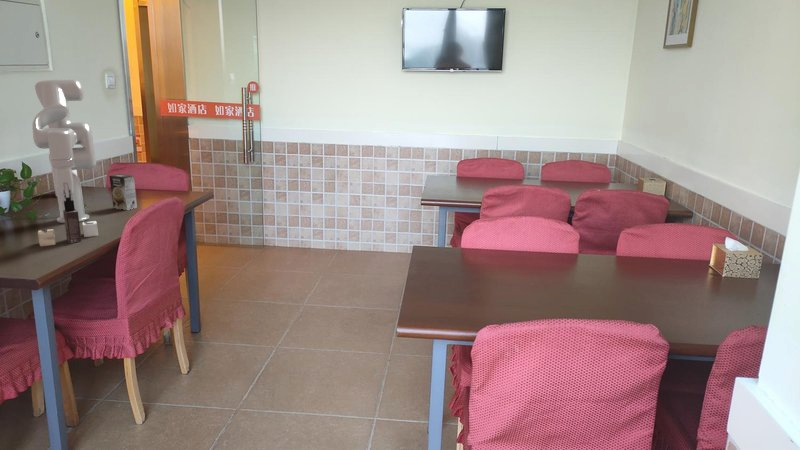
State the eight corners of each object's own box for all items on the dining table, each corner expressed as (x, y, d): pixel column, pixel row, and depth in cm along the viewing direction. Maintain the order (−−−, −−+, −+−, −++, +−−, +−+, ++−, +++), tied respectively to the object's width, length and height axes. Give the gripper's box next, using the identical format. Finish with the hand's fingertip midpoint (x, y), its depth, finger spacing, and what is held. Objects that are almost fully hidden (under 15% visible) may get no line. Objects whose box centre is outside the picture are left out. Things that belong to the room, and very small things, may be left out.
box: (82, 241, 225) (78, 211, 222) (69, 243, 222) (65, 213, 219) (79, 237, 229) (74, 208, 226) (66, 239, 226) (61, 209, 223)
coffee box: (112, 208, 276) (108, 175, 272) (123, 206, 282) (119, 173, 277) (127, 210, 273) (123, 176, 268) (137, 207, 278) (134, 174, 274)
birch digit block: (40, 243, 222) (38, 229, 221) (55, 241, 225) (53, 228, 223) (40, 246, 218) (37, 233, 217) (55, 244, 220) (53, 231, 219)
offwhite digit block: (84, 234, 234) (82, 221, 233) (97, 232, 237) (96, 220, 235) (84, 237, 230) (82, 224, 229) (98, 235, 233) (96, 223, 231)
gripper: (51, 161, 222) (59, 208, 227) (51, 166, 209) (58, 216, 214) (74, 160, 226) (80, 205, 230) (74, 165, 213) (81, 213, 218)
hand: (70, 210), depth 222 cm, fingers closed
